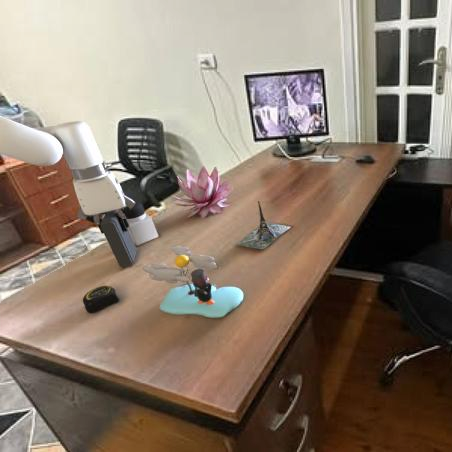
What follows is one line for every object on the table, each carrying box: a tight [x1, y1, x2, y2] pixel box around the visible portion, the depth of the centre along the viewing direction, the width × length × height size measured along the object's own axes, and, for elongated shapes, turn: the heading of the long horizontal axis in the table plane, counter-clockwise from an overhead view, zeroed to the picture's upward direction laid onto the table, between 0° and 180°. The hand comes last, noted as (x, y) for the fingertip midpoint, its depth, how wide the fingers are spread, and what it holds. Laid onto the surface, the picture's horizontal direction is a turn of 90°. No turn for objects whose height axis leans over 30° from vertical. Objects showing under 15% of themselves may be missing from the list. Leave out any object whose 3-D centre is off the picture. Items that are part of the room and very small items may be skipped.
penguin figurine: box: [142, 245, 244, 319], centre depth 80 cm, size 20×11×15 cm, turn 75°
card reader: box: [100, 210, 138, 268], centre depth 100 cm, size 9×4×15 cm, turn 19°
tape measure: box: [82, 285, 120, 315], centre depth 86 cm, size 7×7×4 cm
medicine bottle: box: [123, 202, 159, 247], centre depth 112 cm, size 7×7×12 cm
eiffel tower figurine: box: [236, 199, 292, 250], centre depth 106 cm, size 15×10×13 cm
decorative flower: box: [170, 165, 235, 220], centre depth 125 cm, size 21×21×15 cm
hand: (116, 231), depth 99 cm, fingers closed on card reader, 4 cm apart
